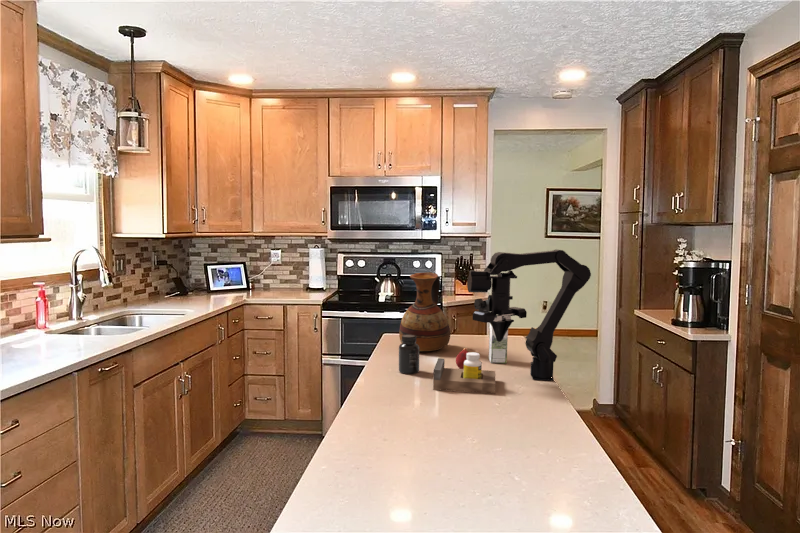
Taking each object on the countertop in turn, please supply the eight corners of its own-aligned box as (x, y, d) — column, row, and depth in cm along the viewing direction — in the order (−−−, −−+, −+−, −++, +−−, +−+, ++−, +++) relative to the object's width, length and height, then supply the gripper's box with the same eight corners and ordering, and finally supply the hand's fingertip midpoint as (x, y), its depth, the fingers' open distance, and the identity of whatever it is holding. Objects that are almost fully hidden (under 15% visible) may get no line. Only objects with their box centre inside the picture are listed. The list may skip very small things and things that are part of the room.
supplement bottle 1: (419, 369, 187) (420, 334, 186) (418, 374, 180) (419, 338, 179) (399, 368, 187) (400, 333, 186) (397, 374, 181) (397, 337, 180)
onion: (467, 375, 181) (468, 350, 180) (452, 372, 184) (452, 348, 184) (476, 371, 185) (476, 347, 185) (461, 368, 189) (461, 345, 188)
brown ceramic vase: (390, 351, 212) (392, 273, 209) (410, 341, 230) (411, 268, 228) (439, 357, 204) (441, 275, 202) (456, 346, 222) (457, 271, 220)
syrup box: (504, 359, 202) (505, 320, 200) (507, 363, 196) (508, 323, 194) (488, 359, 202) (489, 319, 200) (490, 363, 196) (491, 322, 195)
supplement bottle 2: (480, 388, 166) (481, 356, 166) (462, 387, 167) (463, 355, 167) (481, 383, 172) (482, 352, 171) (463, 382, 173) (464, 351, 172)
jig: (494, 380, 175) (495, 361, 175) (495, 393, 162) (495, 373, 161) (437, 376, 178) (438, 358, 178) (433, 389, 164) (433, 369, 164)
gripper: (503, 287, 187) (501, 333, 188) (461, 291, 176) (459, 340, 177) (528, 291, 178) (526, 340, 179) (486, 295, 167) (484, 346, 168)
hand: (499, 341), depth 176 cm, fingers closed
